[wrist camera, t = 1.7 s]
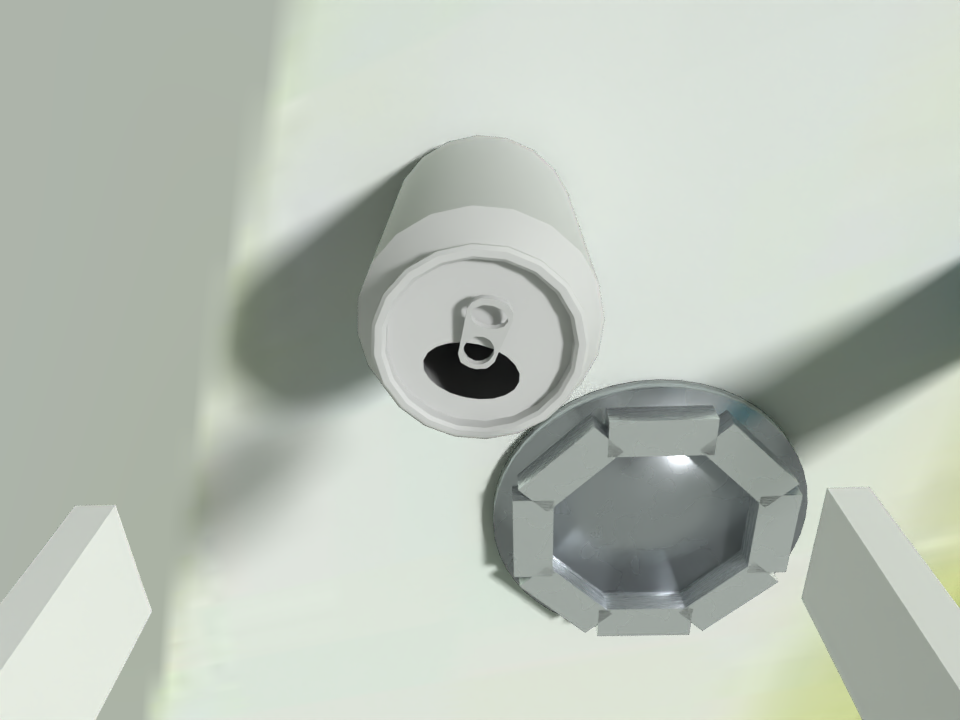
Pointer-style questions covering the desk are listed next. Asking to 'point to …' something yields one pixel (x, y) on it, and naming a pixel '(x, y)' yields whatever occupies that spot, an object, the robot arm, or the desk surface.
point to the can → (481, 292)
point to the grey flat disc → (650, 508)
